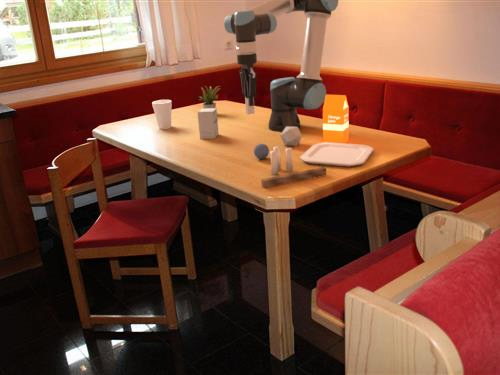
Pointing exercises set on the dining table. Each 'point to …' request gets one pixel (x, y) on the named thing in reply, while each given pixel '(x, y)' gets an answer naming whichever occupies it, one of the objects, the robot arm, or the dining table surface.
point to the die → (291, 136)
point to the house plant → (209, 98)
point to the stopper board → (293, 177)
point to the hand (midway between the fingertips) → (250, 113)
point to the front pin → (278, 156)
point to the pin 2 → (289, 160)
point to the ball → (261, 151)
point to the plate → (337, 154)
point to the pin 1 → (274, 163)
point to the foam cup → (163, 113)
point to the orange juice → (335, 119)
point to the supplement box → (208, 123)
